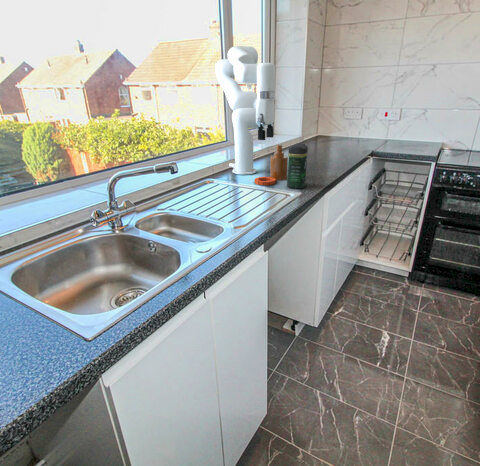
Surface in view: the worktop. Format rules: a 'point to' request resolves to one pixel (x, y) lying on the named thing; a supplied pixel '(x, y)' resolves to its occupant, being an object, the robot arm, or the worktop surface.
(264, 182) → the bung
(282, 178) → the bottle
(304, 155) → the coffee jar
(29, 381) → the worktop surface
